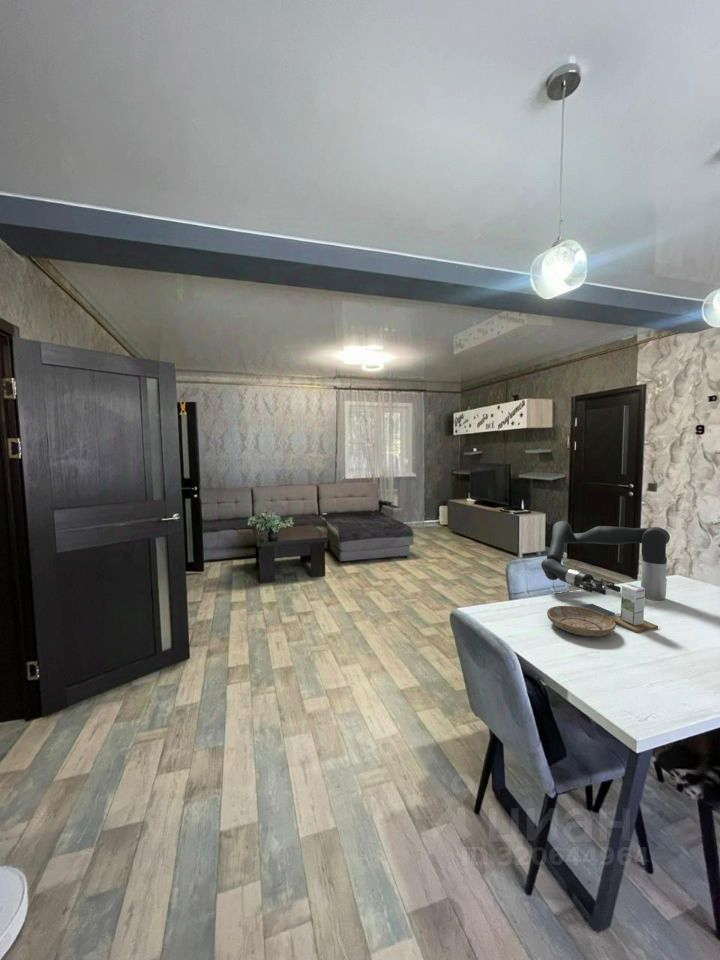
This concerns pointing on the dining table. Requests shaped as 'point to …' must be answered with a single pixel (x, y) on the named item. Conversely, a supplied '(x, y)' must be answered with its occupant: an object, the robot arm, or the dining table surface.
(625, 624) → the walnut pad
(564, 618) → the ceramic bowl
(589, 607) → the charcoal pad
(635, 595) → the syrup box
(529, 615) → the dining table surface
